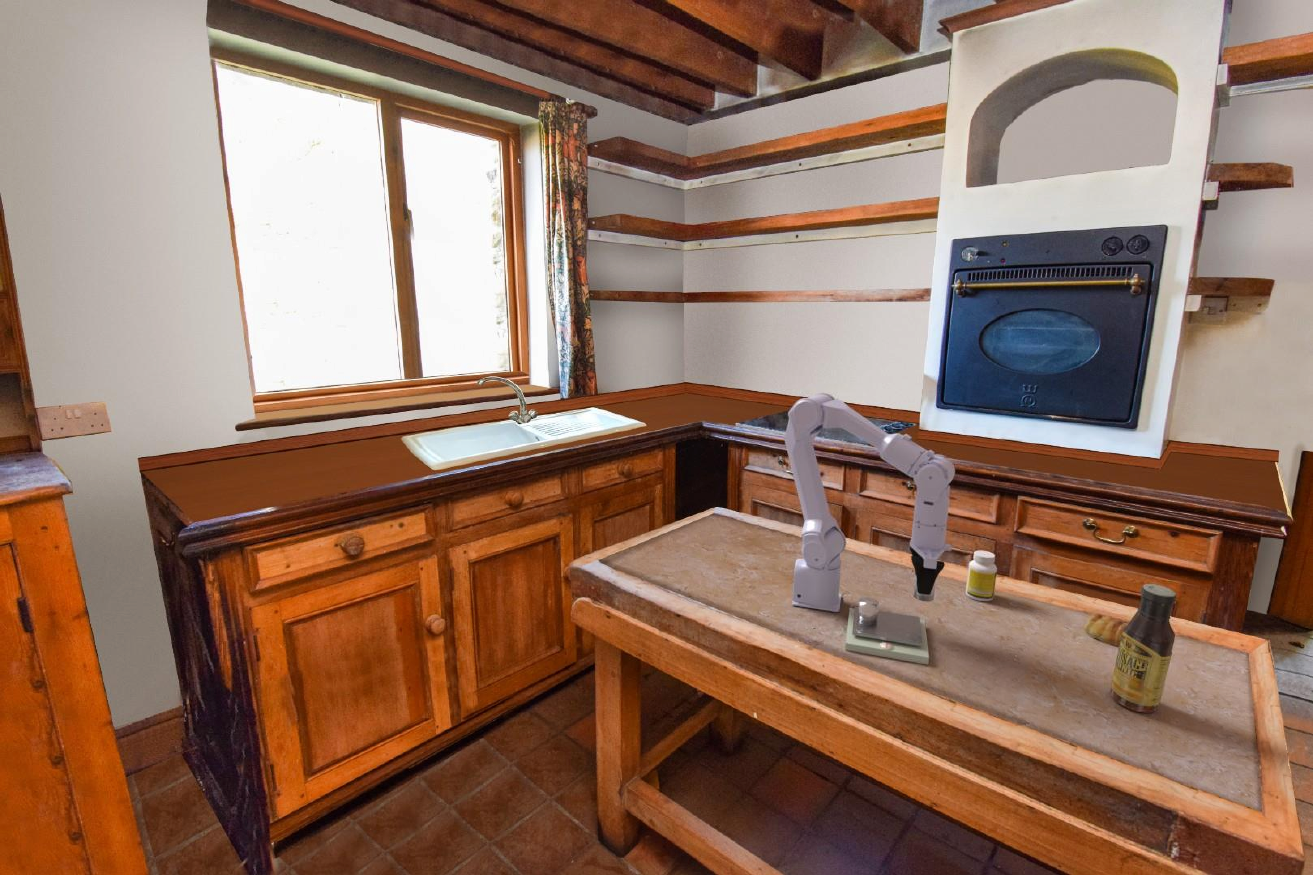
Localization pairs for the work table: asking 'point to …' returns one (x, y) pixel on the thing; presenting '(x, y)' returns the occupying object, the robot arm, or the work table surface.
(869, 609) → the cylinder
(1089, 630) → the pastry
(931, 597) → the cylinder
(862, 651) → the scale
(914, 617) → the scale platform
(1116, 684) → the sauce bottle
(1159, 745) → the work table surface
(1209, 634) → the work table surface
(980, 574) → the supplement bottle
